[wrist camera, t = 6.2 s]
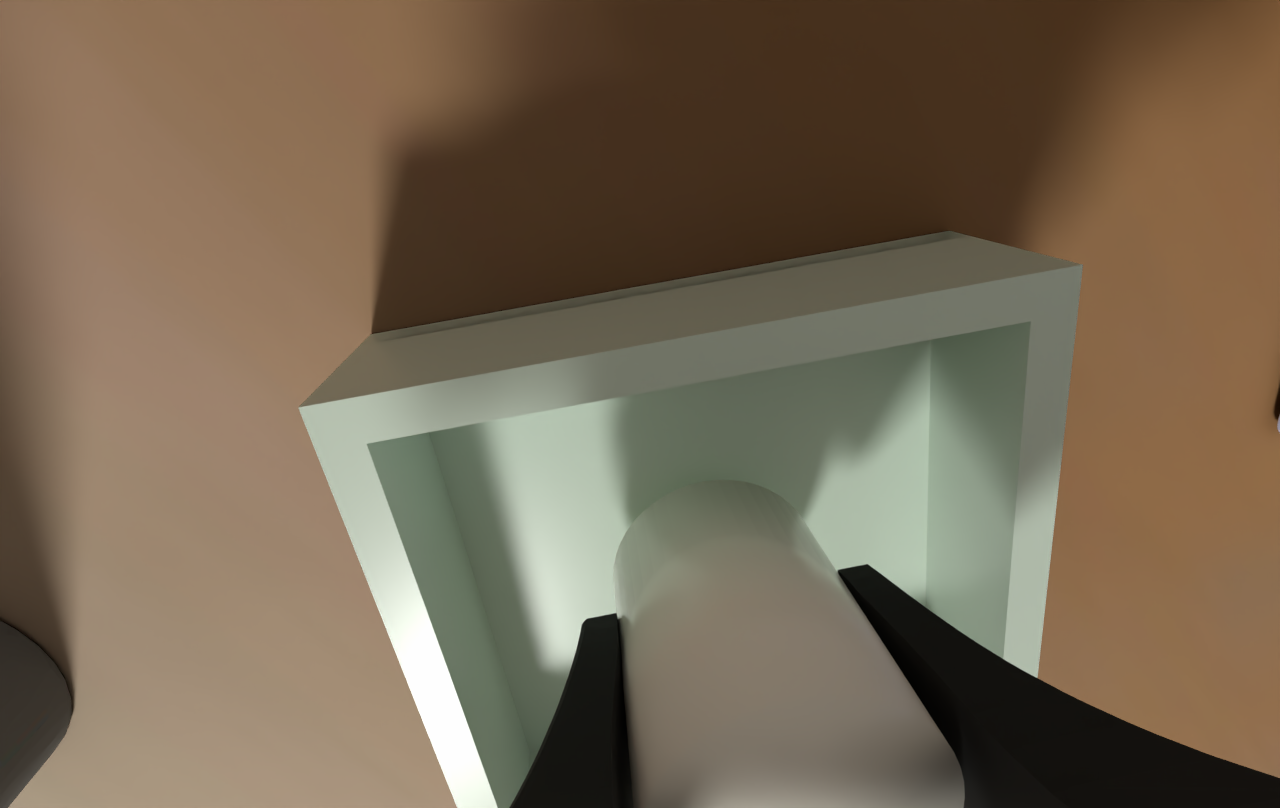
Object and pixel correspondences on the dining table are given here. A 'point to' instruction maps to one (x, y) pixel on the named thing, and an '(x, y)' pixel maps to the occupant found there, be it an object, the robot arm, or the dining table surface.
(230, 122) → the dining table surface
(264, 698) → the dining table surface
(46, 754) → the bottle
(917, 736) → the white capsule cylinder
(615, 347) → the bin
